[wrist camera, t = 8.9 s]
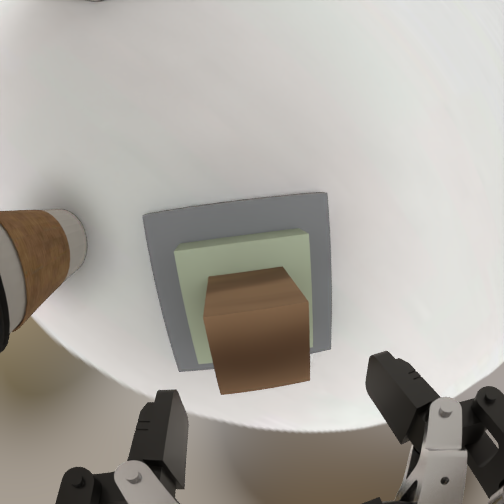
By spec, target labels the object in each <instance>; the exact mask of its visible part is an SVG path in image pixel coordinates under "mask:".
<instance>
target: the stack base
mask: <svg viewBox="0 0 504 504" xmlns="http://www.w3.org/2000/svg"><path fill="white" fill-rule="evenodd" d="M143 222H144V228H145V234H146V240H147V245H148V251H149V256H150V261H151V266H152V271H153V275H154V280H155V285H156V289H157V293H158V298H159V302H160V306H161V310H162V314H163V318H164V322H165V325H166V329H167V333H168V336H169V340H170V343H171V347H172V350H173V354H174V357H175V360H176V364H177V367H178V370H179V372H183V371H196V370H207V369H214V365H213V361H212V357H211V352H210V348H209V343H208V339H207V334H206V330H205V325H204V320H203V313H204V305H205V298H206V291H207V283H208V277H209V276H216V275H224V274H231V273H239V272H246V271H253V270H261V269H268V268H275V267H282V266H283V268H284V269H285V270H286V272H287V273H288V274H289V276H290V277H291V278H292V280H293V281H294V282H295V284H296V285H297V286H298V288H299V289H300V291H301V292H302V293H303V295H304V296H305V297H306V299H307V300H308V301H309V329H310V354H312V353H316V352H321V351H325V350H330V349H331V322H332V280H331V246H330V226H329V210H328V196H327V193H325V192H316V193H304V194H293V195H283V196H273V197H263V198H254V199H246V200H237V201H229V202H221V203H214V204H206V205H199V206H192V207H186V208H179V209H172V210H166V211H160V212H154V213H148V214H145V215H143Z"/></svg>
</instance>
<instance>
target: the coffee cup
mask: <svg viewBox="0 0 504 504" xmlns="http://www.w3.org/2000/svg"><path fill="white" fill-rule="evenodd" d="M86 251H87V239H86V234H85V231H84V228H83V226H82V224H81V222H80V221H79V219H78V218H77V217H76V216H75V215H74V214H72V213H71V212H69V211H67V210H63V209H51V210H17V211H0V352H2V351H3V350H4V349H5V347H6V346H7V344H8V340H9V335H10V333H11V332H13V331H16V330H17V329H19V328H20V327H21V326H22V325H23V323H24V322H25V321H26V320H27V319H28V318H29V317H30V316H31V315H32V314H33V313H34V312H35V311H36V310H37V308H38V307H39V306H40V305H41V304H42V303H43V302H44V301H45V300H46V299H47V298H48V297H49V296H50V295H51V294H52V293H53V292H54V291H55V290H56V289H57V288H58V287H59V286H60V285H61V284H62V283H63V282H64V281H65V280H66V279H67V278H68V277H69V276H71V275H72V274H73V273H74V272H75V271H76V270H77V269H78V268H79V267H80V266H81V265H82V263H83V261H84V259H85V256H86Z"/></svg>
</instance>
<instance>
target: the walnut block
mask: <svg viewBox="0 0 504 504" xmlns="http://www.w3.org/2000/svg"><path fill="white" fill-rule="evenodd" d="M203 320H204V325H205V330H206V334H207V339H208V343H209V348H210V352H211V357H212V361H213V365H214V369H215V373H216V378H217V382H218V386H219V390H220V393H221V395H224V394H233V393H241V392H248V391H255V390H262V389H268V388H274V387H280V386H285V385H290V384H295V383H300V382H305V381H309V380H310V329H309V301H308V300H307V299H306V297H305V296H304V295H303V293H302V292H301V291H300V289H299V288H298V286H297V285H296V284H295V282H294V281H293V280H292V278H291V277H290V276H289V274H288V273H287V272H286V270H285V269H284V268H283V266H282V267H275V268H268V269H261V270H253V271H246V272H239V273H231V274H224V275H216V276H209V277H208V283H207V291H206V298H205V305H204V313H203Z"/></svg>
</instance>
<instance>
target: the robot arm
mask: <svg viewBox="0 0 504 504" xmlns="http://www.w3.org/2000/svg"><path fill="white" fill-rule="evenodd" d="M89 1H99V0H89ZM366 390H367V392H368V394H369V396H370V398H371V399H372V401H373V402H374V404H375V405H376V407H377V408H378V410H379V411H380V413H381V414H382V416H383V417H384V419H385V420H386V422H387V424H388V425H389V427H390V428H391V430H392V431H393V433H394V434H395V436H396V437H397V439H398V441H399V442H400V444H403V443H406V442H407V441H411V442H412V446H411V449H410V454H409V459H408V463H407V467H406V471H405V475H404V479H403V482H402V485H401V487H400V489H399V491H398V493H397V495H396V498H395V500H394V501H385V502H382V501H381V499H380V497H378V498H376V499H373V500H371V501H368V502H365V503H363V504H462V500H463V494H464V487H465V478H466V469H467V464H468V466H469V467H470V469H471V470H472V472H473V473H474V475H475V477H476V478H477V480H478V481H479V483H480V484H481V486H482V488H483V489H484V491H485V492H486V494H487V496H488V498H489V502H488V504H504V394H503V393H502V392H501V391H500V390H498V389H497V388H495V387H491V386H487V387H483V388H481V389H480V390H479V391H478V393H477V395H476V397H475V398H474V399H470V400H467V401H463V402H458V401H457V400H455V399H453V398H450V397H440V396H439V395H438V394H437V393H436V392H435V391H434V390H433V388H432V387H431V386H430V385H429V384H428V383H427V382H426V381H425V380H424V379H423V378H422V377H421V375H420V374H419V373H418V372H417V371H415V369H414V368H413V367H412V366H411V365H410V364H409V363H408V362H406V361H404V360H402V359H400V358H398V359H395V358H394V357H393V356H392V355H391V354H390V353H389V352H388V351H384V352H381V353H377V354H374V355H371V356H370V358H369V363H368V369H367V376H366ZM487 429H488V431H489V432H490V433H491V434H492V436H493V437H494V438H495V440H496V441H497V442H498V445H499V449H498V448H497V447H496V445H495V444H494V443H493V441H492V440H491V439H490V438H489V436H488V435H487V434H486V432H485V431H486V430H487ZM187 439H188V417H187V414H186V411H185V409H184V406H183V404H182V401H181V399H180V396H179V393H178V391H177V390H158V391H157V394H156V398H155V402H152V403H151V402H148V403H147V404H146V405H145V406H144V408H143V409H142V410H141V412H140V415H139V419H138V423H137V426H136V431H135V433H134V438H133V441H132V445H131V449H130V453H129V457H128V460H127V461H126V462H124V463H122V464H121V465H119V466H118V467H117V469H116V470H115V471H114V472H111V473H102V474H92V473H91V472H90V471H89V470H87V469H85V468H83V467H74V468H71V469H69V470H68V471H67V472H66V473H65V474H64V476H63V478H62V482H61V485H60V489H59V492H58V496H57V500H56V504H180V503H179V502H178V501H177V500H176V499H175V490H176V489H184V486H185V484H184V483H185V468H186V452H187Z"/></svg>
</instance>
